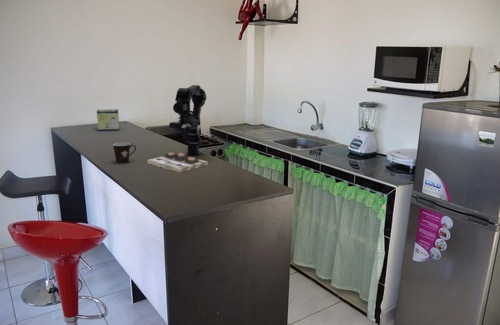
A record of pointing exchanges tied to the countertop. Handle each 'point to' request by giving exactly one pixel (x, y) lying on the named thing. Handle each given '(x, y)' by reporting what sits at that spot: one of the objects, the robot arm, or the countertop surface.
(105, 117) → the protein box
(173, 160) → the button board
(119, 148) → the coffee mug
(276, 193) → the countertop surface
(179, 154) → the middle button
